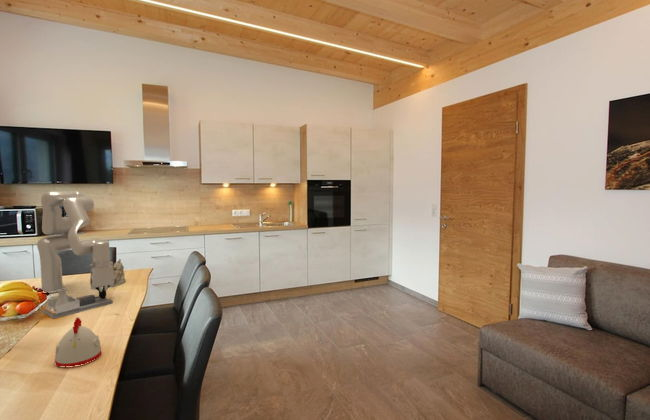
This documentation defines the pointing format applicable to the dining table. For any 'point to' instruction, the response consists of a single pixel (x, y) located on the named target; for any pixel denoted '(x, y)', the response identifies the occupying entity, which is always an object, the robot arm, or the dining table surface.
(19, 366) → the dining table surface
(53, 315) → the base board
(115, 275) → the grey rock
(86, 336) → the kitchen timer
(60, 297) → the flask
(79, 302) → the housing
